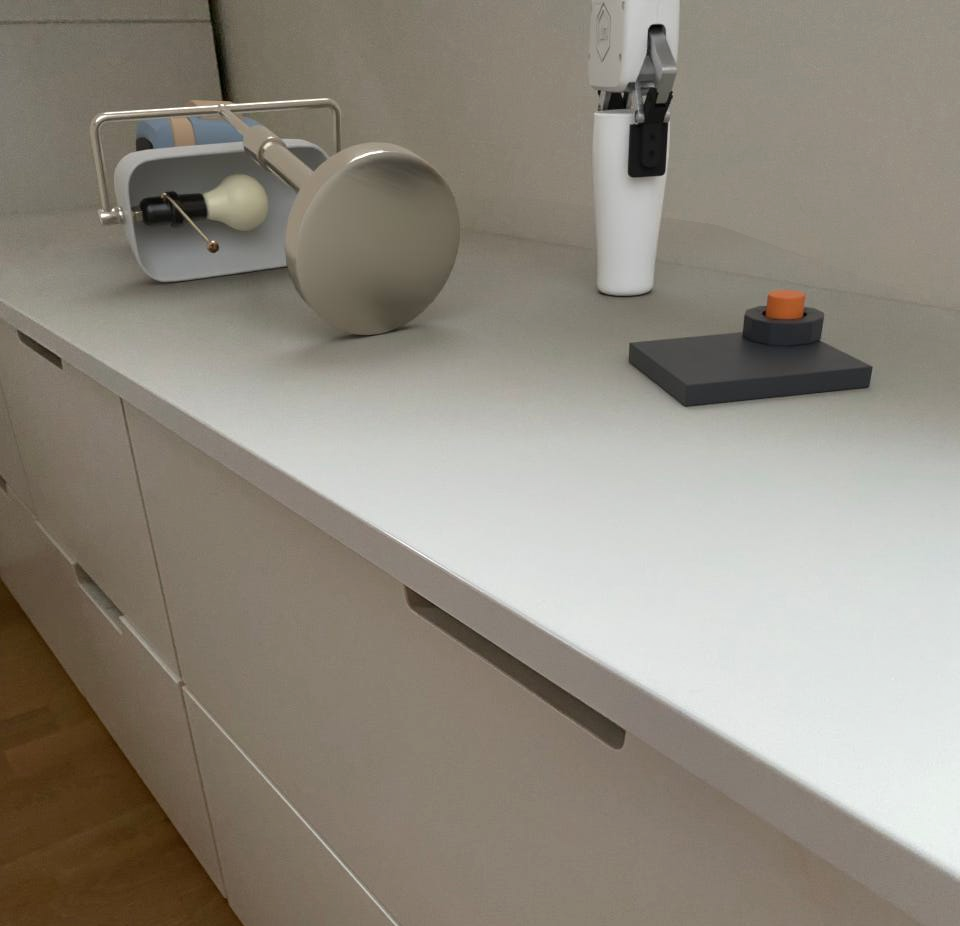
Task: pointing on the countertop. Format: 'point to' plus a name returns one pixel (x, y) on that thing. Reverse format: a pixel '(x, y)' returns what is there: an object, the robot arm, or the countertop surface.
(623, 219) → the drinking glass
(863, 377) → the scale
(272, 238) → the lamp
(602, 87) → the robot arm
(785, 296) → the button
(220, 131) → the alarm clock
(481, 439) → the countertop surface
